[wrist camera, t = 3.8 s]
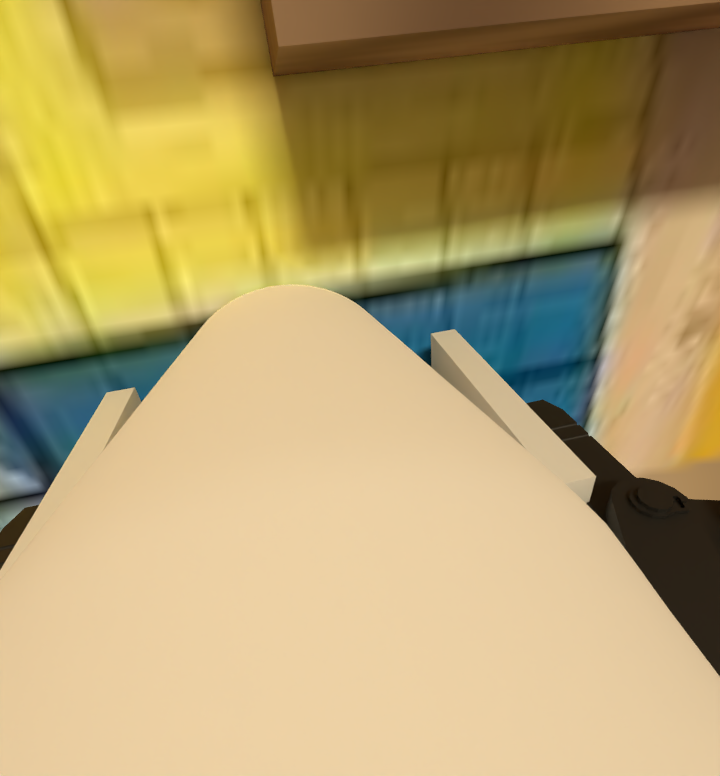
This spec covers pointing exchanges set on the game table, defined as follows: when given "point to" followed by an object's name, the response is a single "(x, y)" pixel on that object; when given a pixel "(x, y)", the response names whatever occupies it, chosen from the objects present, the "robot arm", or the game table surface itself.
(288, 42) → the walnut base
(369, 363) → the cup
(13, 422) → the game table surface
